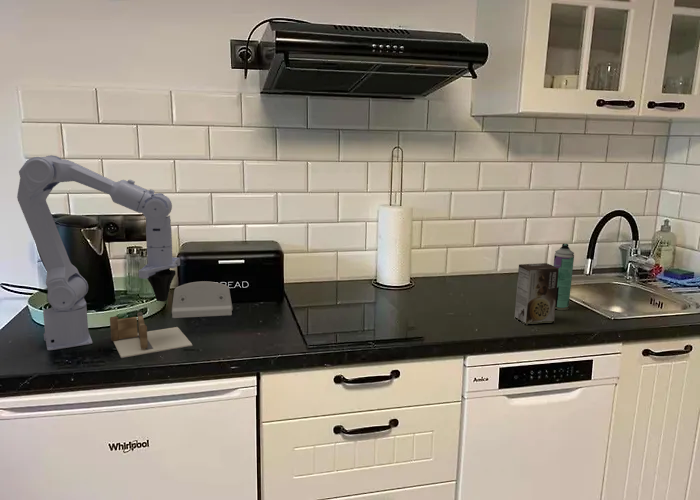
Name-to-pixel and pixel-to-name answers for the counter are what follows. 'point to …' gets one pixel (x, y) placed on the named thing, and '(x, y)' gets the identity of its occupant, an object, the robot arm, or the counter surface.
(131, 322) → the fence fixed
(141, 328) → the panel
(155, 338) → the card
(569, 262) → the spray can
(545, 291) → the coffee box
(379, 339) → the counter surface
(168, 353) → the counter surface
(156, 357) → the counter surface
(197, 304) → the hinge
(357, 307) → the counter surface
